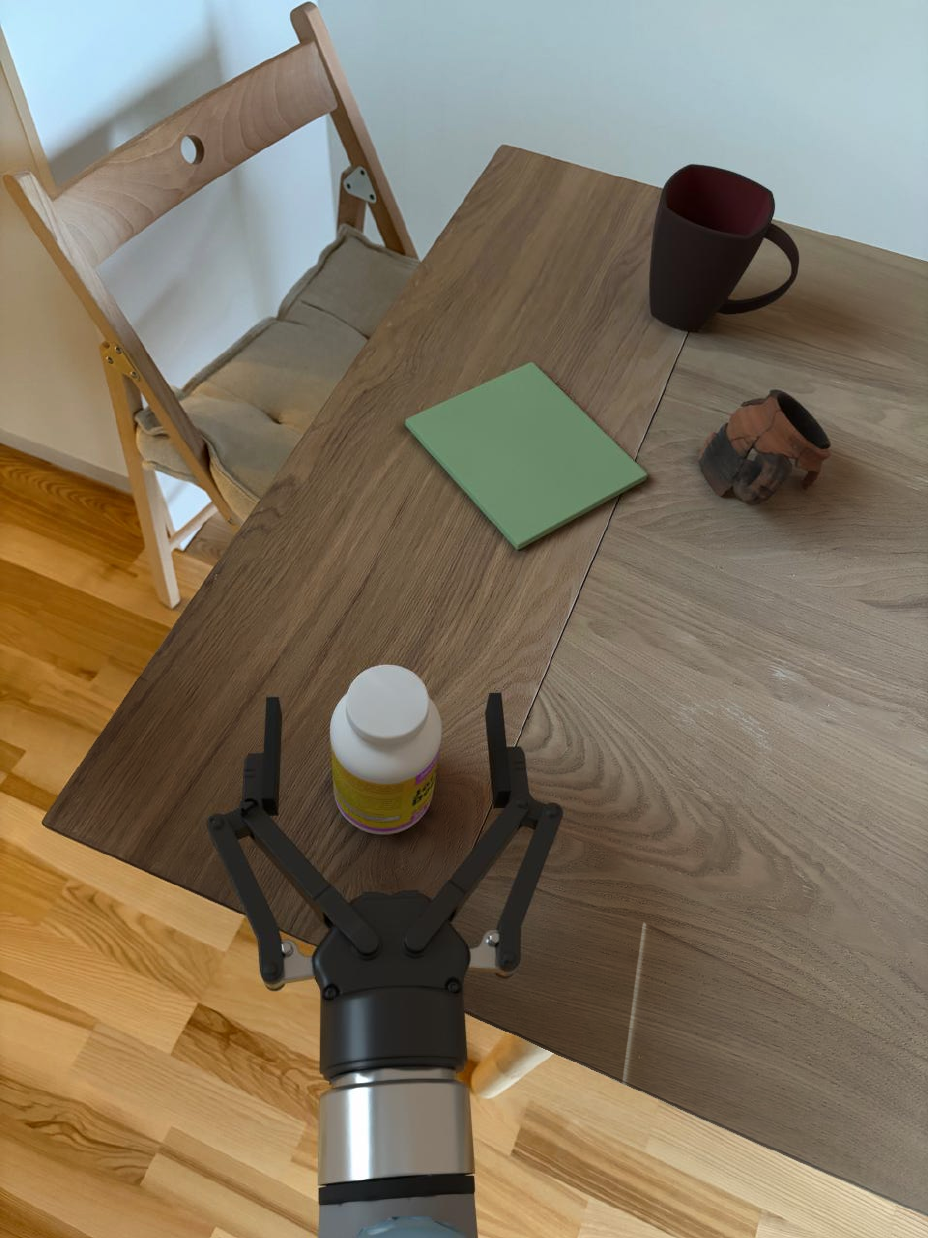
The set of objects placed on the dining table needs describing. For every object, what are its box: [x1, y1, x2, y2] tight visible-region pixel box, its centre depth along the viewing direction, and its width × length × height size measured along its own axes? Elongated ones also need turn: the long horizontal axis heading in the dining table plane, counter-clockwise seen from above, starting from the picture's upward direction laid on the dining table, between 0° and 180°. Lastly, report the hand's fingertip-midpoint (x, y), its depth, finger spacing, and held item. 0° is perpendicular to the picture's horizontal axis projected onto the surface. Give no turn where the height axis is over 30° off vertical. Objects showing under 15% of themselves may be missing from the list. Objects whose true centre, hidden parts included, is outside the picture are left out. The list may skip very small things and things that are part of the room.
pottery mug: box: [697, 388, 832, 506], centre depth 79 cm, size 12×10×8 cm
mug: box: [648, 163, 800, 333], centre depth 88 cm, size 10×14×12 cm
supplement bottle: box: [329, 664, 443, 835], centre depth 58 cm, size 7×7×13 cm
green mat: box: [404, 361, 648, 551], centre depth 81 cm, size 16×14×1 cm
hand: (385, 704), depth 59 cm, fingers open, 13 cm apart
